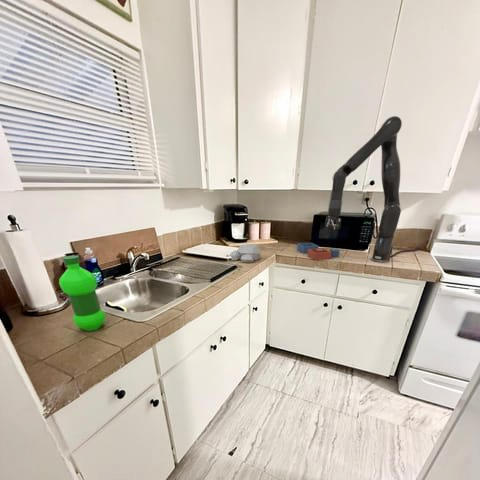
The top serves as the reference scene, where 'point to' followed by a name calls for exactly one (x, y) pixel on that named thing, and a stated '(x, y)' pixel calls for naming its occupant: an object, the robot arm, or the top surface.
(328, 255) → the red bin
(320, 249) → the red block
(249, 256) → the rock
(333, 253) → the blue block
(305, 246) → the blue bin
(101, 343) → the top surface
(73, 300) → the plastic bottle
